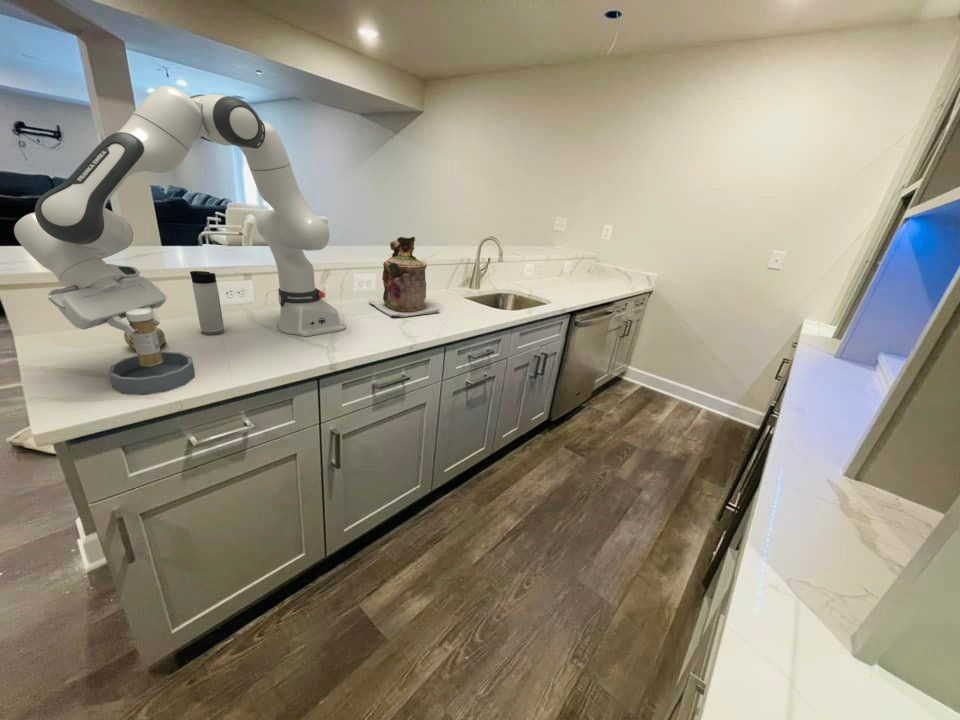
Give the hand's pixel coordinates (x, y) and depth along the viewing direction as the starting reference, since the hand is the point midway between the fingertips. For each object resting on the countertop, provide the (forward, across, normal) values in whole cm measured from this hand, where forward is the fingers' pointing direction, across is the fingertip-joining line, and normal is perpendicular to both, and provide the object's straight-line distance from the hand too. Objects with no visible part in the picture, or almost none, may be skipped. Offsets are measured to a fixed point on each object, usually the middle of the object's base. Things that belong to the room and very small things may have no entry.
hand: (145, 329), depth 89 cm
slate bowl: (+9, 0, +10) cm, 13 cm away
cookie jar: (+36, +87, -18) cm, 95 cm away
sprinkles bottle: (+6, 0, +7) cm, 9 cm away
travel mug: (+2, +32, +17) cm, 36 cm away
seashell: (-3, +16, +22) cm, 27 cm away
